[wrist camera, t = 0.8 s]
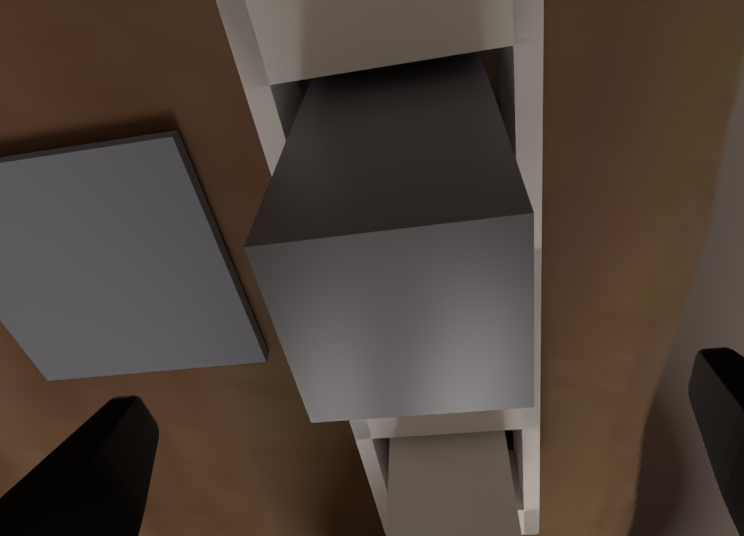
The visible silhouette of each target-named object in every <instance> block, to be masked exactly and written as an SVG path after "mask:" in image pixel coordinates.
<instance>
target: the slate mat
mask: <svg viewBox="0 0 744 536" xmlns="http://www.w3.org/2000/svg"><path fill="white" fill-rule="evenodd" d="M0 321H1V322H2V323H3V324H4V326H5V327H6V328H7V329H8V331H9V332H10V333H11V335H12V336H13V337H14V338H15V340H16V341H17V342H18V344H19V345H20V346H21V347H22V349H23V350H24V351H25V353H26V354H27V355H28V356H29V358H30V359H31V360H32V362H33V363H34V364H35V365H36V367H37V368H38V369H39V370H40V372H41V373H42V374H43V376H44V377H45V378H46V379H47V381H50V380H62V379H73V378H85V377H96V376H108V375H120V374H131V373H143V372H154V371H166V370H177V369H189V368H200V367H212V366H223V365H235V364H246V363H258V362H266V361H267V358H268V354H269V352H268V350H267V347H266V345H265V342H264V340H263V338H262V335H261V333H260V330H259V328H258V325H257V323H256V320H255V318H254V315H253V313H252V311H251V308H250V306H249V303H248V301H247V298H246V296H245V293H244V291H243V289H242V286H241V284H240V281H239V279H238V276H237V274H236V271H235V269H234V266H233V264H232V262H231V259H230V257H229V254H228V252H227V249H226V247H225V244H224V242H223V240H222V237H221V235H220V232H219V230H218V227H217V225H216V222H215V220H214V217H213V215H212V213H211V210H210V208H209V205H208V203H207V200H206V198H205V195H204V193H203V191H202V188H201V186H200V183H199V181H198V178H197V176H196V173H195V171H194V168H193V166H192V164H191V161H190V159H189V156H188V154H187V151H186V149H185V146H184V144H183V142H182V139H181V137H180V134H179V132H178V130H174V131H168V132H161V133H155V134H148V135H142V136H135V137H129V138H122V139H116V140H109V141H103V142H96V143H89V144H83V145H76V146H70V147H63V148H57V149H50V150H44V151H37V152H31V153H24V154H18V155H11V156H5V157H0Z"/></svg>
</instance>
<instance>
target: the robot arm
mask: <svg viewBox="0 0 744 536" xmlns="http://www.w3.org/2000/svg"><path fill="white" fill-rule="evenodd" d="M688 394H689V399H690V403H691V406H692V409H693V412H694V414H695V418H696V421H697V424H698V427H699V430H700V432H701V435H702V439H703V442H704V445H705V448H706V451H707V454H708V457H709V460H710V463H711V466H712V469H713V472H714V475H715V478H716V481H717V484H718V486H719V489H720V492H721V495H722V497H723V499H724V502H725V504H726V506H727V508H728V511H729V513H730V515H731V518H732V520H733V522H734V524H735V526H736V528H737V531H738V532H739V535H740V536H744V357H743V356H742V355H740V354H738V353H737V352H735V351H734V350H732V349H729V348H725V347H722V348H710V349H702V350H699V351H698V353H697V354H696V357H695V360H694V364H693V368H692V372H691V376H690V380H689V385H688ZM158 439H159V428H158V425H157V422H156V421H155V419H154V418H153V416H152V415H151V413H150V411H149V410H148V408H147V407H146V405H145V404H144V402H143V401H142V399H141V398H140V397H138V396H136V395H130V396H118V397H114V398H112V399H111V400H109V401H108V402H107V403H106V404H105V405H104V406H103V407H101V408H100V409H99V410H98V411H97V412H96V413H95V414H94V415H93V416H91V417H90V418H89V419H88V420H87V421H86V422H85V423H84V424H82V425H81V426H80V427H79V428H78V429H77V430H76V431H75V432H74V433H72V434H71V435H70V436H69V437H68V438H67V439H66V440H65V441H64V442H62V443H61V444H60V445H59V446H58V447H57V448H56V449H55V450H53V451H52V452H51V453H50V454H49V455H48V456H47V457H46V458H45V459H43V460H42V461H41V462H40V463H39V464H38V465H37V466H36V467H35V468H33V469H32V470H31V471H30V472H29V473H28V474H27V475H26V476H24V477H23V478H22V479H21V480H20V481H19V482H18V483H17V484H16V485H14V486H13V487H12V488H11V489H10V490H9V491H8V492H7V493H6V494H4V495H3V496H2V497H1V498H0V536H138V535H139V531H140V527H141V524H142V520H143V515H144V511H145V506H146V501H147V496H148V491H149V486H150V480H151V475H152V470H153V465H154V460H155V455H156V450H157V444H158Z"/></svg>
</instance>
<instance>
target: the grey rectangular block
mask: <svg viewBox="0 0 744 536" xmlns="http://www.w3.org/2000/svg"><path fill="white" fill-rule="evenodd" d="M244 249H245V252H246V254H247V257H248V260H249V262H250V265H251V267H252V270H253V273H254V275H255V278H256V280H257V283H258V286H259V288H260V291H261V293H262V296H263V299H264V301H265V304H266V306H267V309H268V312H269V314H270V317H271V319H272V322H273V325H274V327H275V330H276V332H277V335H278V338H279V340H280V343H281V345H282V348H283V351H284V353H285V356H286V359H287V361H288V364H289V366H290V369H291V372H292V374H293V377H294V379H295V382H296V385H297V387H298V390H299V392H300V395H301V398H302V400H303V403H304V405H305V408H306V411H307V413H308V416H309V418H310V421H311V423H316V422H331V421H345V420H359V419H374V418H388V417H402V416H417V415H431V414H445V413H460V412H474V411H488V410H503V409H517V408H531V407H534V211H533V208H532V206H531V203H530V200H529V197H528V194H527V191H526V188H525V185H524V182H523V179H522V176H521V173H520V170H519V167H518V164H517V161H516V158H515V155H514V152H513V149H512V146H511V143H510V140H509V137H508V134H507V132H506V129H505V126H504V123H503V120H502V117H501V114H500V111H499V108H498V105H497V102H496V99H495V96H494V93H493V90H492V87H491V84H490V81H489V78H488V75H487V72H486V69H485V66H484V63H483V60H482V57H481V55H480V52H479V51H477V52H471V53H464V54H458V55H452V56H446V57H440V58H433V59H427V60H421V61H415V62H409V63H403V64H396V65H390V66H384V67H378V68H372V69H366V70H359V71H353V72H347V73H341V74H335V75H328V76H322V77H316V78H311V80H310V82H309V85H308V87H307V90H306V92H305V95H304V97H303V100H302V102H301V105H300V107H299V110H298V112H297V115H296V117H295V120H294V123H293V125H292V128H291V130H290V133H289V135H288V138H287V140H286V143H285V145H284V148H283V150H282V153H281V155H280V158H279V160H278V163H277V165H276V168H275V170H274V173H273V175H272V178H271V180H270V183H269V185H268V188H267V190H266V193H265V195H264V198H263V200H262V203H261V205H260V208H259V211H258V213H257V216H256V218H255V221H254V223H253V226H252V228H251V231H250V233H249V236H248V238H247V241H246V243H245V246H244Z"/></svg>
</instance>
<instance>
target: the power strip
mask: <svg viewBox="0 0 744 536" xmlns="http://www.w3.org/2000/svg"><path fill="white" fill-rule="evenodd" d="M216 3H217V6H218V9H219V13H220V16H221V19H222V22H223V25H224V28H225V31H226V35H227V38H228V41H229V44H230V47H231V50H232V53H233V57H234V60H235V63H236V66H237V69H238V72H239V75H240V79H241V82H242V85H243V88H244V91H245V94H246V97H247V101H248V104H249V107H250V110H251V113H252V116H253V120H254V123H255V126H256V129H257V132H258V135H259V138H260V142H261V145H262V148H263V151H264V154H265V157H266V160H267V164H268V167H269V170H270V173H271V176H272V175H273V173H274V170H275V168H276V165H277V163H278V160H279V158H280V155H281V153H282V150H283V148H284V145H285V143H286V140H287V138H288V135H289V133H290V130H291V128H292V125H293V123H294V120H295V117H296V115H297V112H298V110H299V107H300V105H301V102H302V100H303V94H302V90H301V86H300V83H299V80H304V79H310V78H316V77H322V76H328V75H335V74H341V73H347V72H353V71H359V70H366V69H372V68H378V67H384V66H390V65H396V64H403V63H409V62H415V61H421V60H427V59H433V58H440V57H446V56H452V55H458V54H464V53H471V52H477V51H483V50H489V49H495V48H498V60H499V86H500V112H501V117H502V120H503V123H504V126H505V129H506V132H507V134H508V137H509V140H510V143H511V146H512V149H513V152H514V155H515V158H516V161H517V164H518V167H519V170H520V173H521V176H522V179H523V182H524V185H525V188H526V191H527V194H528V197H529V200H530V203H531V206H532V208H533V211H534V407H531V408H517V409H503V410H488V411H474V412H460V413H445V414H431V415H417V416H402V417H388V418H374V419H359V420H349V422H350V425H351V428H352V431H353V434H354V437H355V440H356V444H357V447H358V450H359V453H360V456H361V459H362V462H363V466H364V469H365V472H366V475H367V478H368V481H369V484H370V488H371V491H372V494H373V497H374V500H375V503H376V506H377V510H378V513H379V516H380V519H381V522H382V525H383V529H384V532H385V535H386V536H387V510H388V477H389V443H390V438H392V437H407V436H423V435H439V434H454V433H470V432H486V431H501V430H513V450H508V454H509V460H510V466H511V473H512V479H513V485H514V491H515V497H516V503H517V509H518V516H519V522H520V528H521V534H522V535H527V534H539V485H540V372H541V260H542V148H543V35H544V0H216Z"/></svg>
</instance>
